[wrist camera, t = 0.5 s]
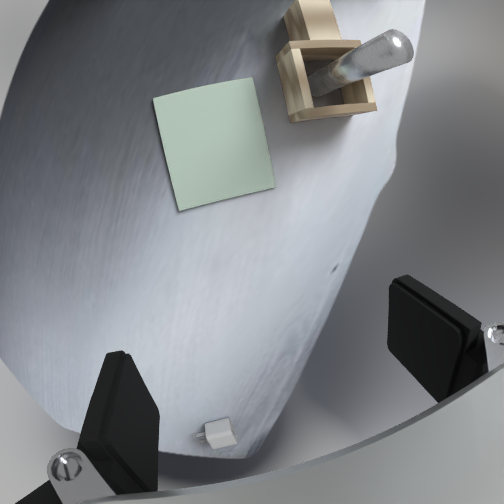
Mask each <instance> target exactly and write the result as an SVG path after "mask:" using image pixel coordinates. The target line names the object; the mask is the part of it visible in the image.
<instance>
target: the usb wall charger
mask: <svg viewBox="0 0 504 504" xmlns="http://www.w3.org/2000/svg"><path fill="white" fill-rule="evenodd" d="M195 435H196V437H201V436H205V435H206V438H207V439H203V440H200V441H201V442H200V443H198V442H199V441H197V444H201V443H206V442H209V444H210V445H211V447H212V448H213V449H217V448H221V447H226V446H230V445H234V444H238V441H237V437H236V432H235V428H234V426H233V424H232V422H231V420H230V418H229V417H228V418H224V419H221V420H217V421H213V422H208V423H205V432H202V433H198V434H194V435H193V438H195V437H194V436H195Z"/></svg>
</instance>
